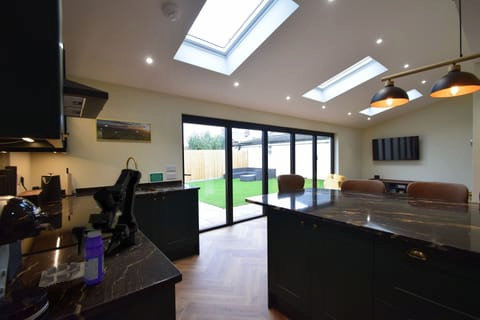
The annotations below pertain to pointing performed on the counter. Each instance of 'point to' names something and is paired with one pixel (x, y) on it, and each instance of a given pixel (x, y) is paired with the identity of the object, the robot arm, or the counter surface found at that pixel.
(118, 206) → the robot arm
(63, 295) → the counter surface
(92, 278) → the bottle
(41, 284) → the collar plate
